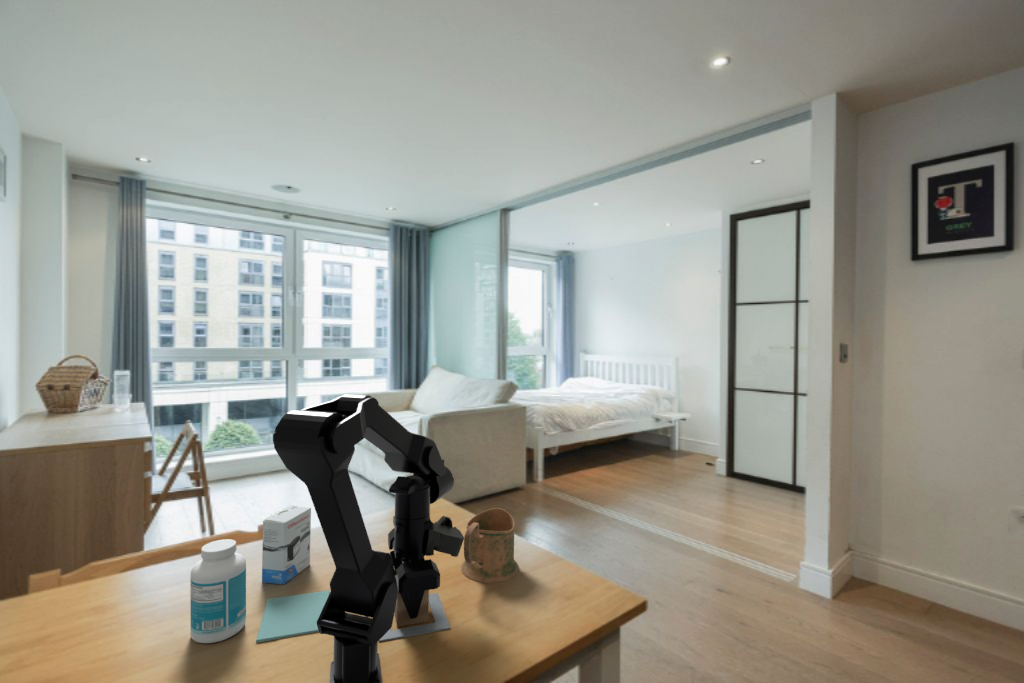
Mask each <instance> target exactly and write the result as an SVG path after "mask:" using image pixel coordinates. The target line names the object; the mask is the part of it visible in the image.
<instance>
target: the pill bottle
mask: <svg viewBox="0 0 1024 683" xmlns="http://www.w3.org/2000/svg"><path fill="white" fill-rule="evenodd" d="M200 551H201V552H200V553H201V554H200V557H201V559H200V560H199V561H197V562H196V563H195V564H194V565H193V566H192V568H191V570H190V637H191V639H192V640H193V641H194V642H196V643H199V644H213V643H214V644H215V643H219V642H222V641H225V640H227V639H229V638H231V637H232V636H235V635H236V634H238V633H239V632H240V631H241V630H242V629H243V627H244V626H245V624H246V621H247V561H246V559H245V557H244V555H242V554H240V553H239V552H236V551H237V541H236V540H234V539H230V538H229V539H228V538H226V539H223V538H222V539H218V540H217V539H216V540H213V541H210V542H207V543H206V544H204V545H203V546H202V547H201V550H200Z"/></svg>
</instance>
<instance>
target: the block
mask: <svg viewBox="0 0 1024 683" xmlns="http://www.w3.org/2000/svg"><path fill="white" fill-rule="evenodd" d="M395 578H396V575H395ZM429 594H430V590H425V592H424V595H423V598H422V602H421V605H420V609H419V613H418V616H417V618H414V619H410V617H409V614H408V612H407V610H406V607H405V605H404V602H403V600H402V597H401V595H400V593H398V595H397V601H396V606H395V612H394V617H395V624H396V627H397V628H398V627H399V628H400V627H405V626H410V625H416V624H417V625H418V624H421V623H427V622H429V609H430V605H429Z"/></svg>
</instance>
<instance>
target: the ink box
mask: <svg viewBox="0 0 1024 683" xmlns="http://www.w3.org/2000/svg"><path fill="white" fill-rule="evenodd" d="M311 518H312V508H311V507H304V506H298V505H289V506H286V507H285V508H283V509H281V510H279V511H276V512H274V514H270V515H269V516H267V517H265V518H264V519H263V520H262V554H261V555H262V558H261V559H262V560H261V561H262V563H261V582H262V583H266V584H274V585H275V584H276V585H286V584H287V583H288V582H289V581H290V580H292V579H293V578H294V577H296V576H297V575H299V574H300V573H301V572H302V571H304V570H305V569H306V568H308V567H309V566H310V565H311V528H312V526H311V521H312V519H311Z"/></svg>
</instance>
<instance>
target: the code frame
mask: <svg viewBox="0 0 1024 683" xmlns="http://www.w3.org/2000/svg"><path fill="white" fill-rule="evenodd" d="M440 598H441V597H440V596H439V593H438V592H435V593H429V609H430V611H431V615H432V617H433V620H434V622H431V623H427V624H425V623H424V624H420V625H419V624H418V625H414V626H408V627H403V628H398V629H392V627H391V628H390V629H389V631H388V632H387V633H386V634H385V635H384V636H383V637H382V638H381V639H380V640H379V641H378V643H382V642H387V641H391V640H399V639H403V638H408V637H409V638H410V637H414V636H419V635H424V634H426V635H427V634H431V633H436V632H441V631H447V630H451V626H450V623H449V619H448V617H447V615H446V612H445V609H444V607H443V603H442V601H441V599H440Z"/></svg>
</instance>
